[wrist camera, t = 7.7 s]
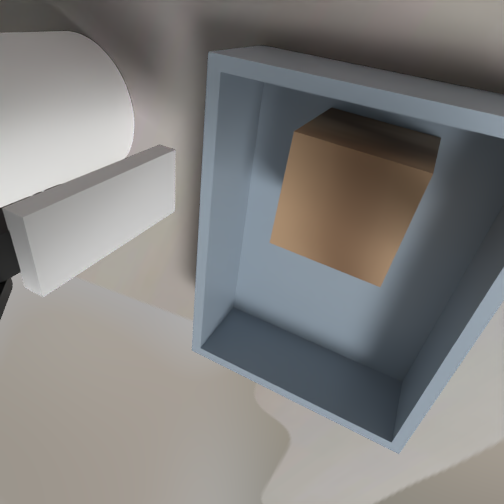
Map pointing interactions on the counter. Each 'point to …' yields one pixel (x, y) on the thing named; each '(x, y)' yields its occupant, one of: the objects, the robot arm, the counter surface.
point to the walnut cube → (352, 191)
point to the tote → (331, 280)
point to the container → (58, 111)
